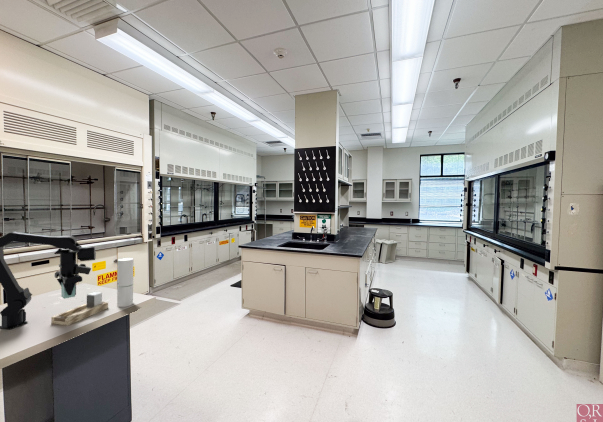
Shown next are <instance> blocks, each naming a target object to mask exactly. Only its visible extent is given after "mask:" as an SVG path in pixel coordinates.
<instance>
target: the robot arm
mask: <svg viewBox="0 0 603 422" xmlns="http://www.w3.org/2000/svg"><path fill="white" fill-rule="evenodd" d="M13 242H17V243H25V244H26V243H27V244H36V245H37V244H38V245H48V246H52V247H55V248H58V250H56V251H55V252H53V253H54V255H59V264H58V267H59V270H57V271H56V272H54V278H56V280H57V282H58V284H59V286H61V282H62V285H63V286H64V288H65V290H66V292H67V294H68V295H71V294H72V291H73V288H74V286H75V284H76V285H77V283H81V282H83V276H81V275H80V274H85V275H90V273H91V271H92V268H91V267H89V266H87V265H86V264H85V263H80V264H78V263H77V260H78V261H80V262H90V261H96V259H97V258H96V257H97V255H96V254H97V253H96V247H95V246H87V247H86V246H85V247H82V245H80V243H79V242H78V239H77V238H76V236H73V235H56V236H55V235H54V236H53V235H45V234H44V235H43V234H33V233H28V232H27V233H25V232H24V233H23V232H18V231H11V232H8V233H6V234H5V235H3V236H0V285H1V287H2V288H3V290H4V291H5V302H6V304H7V305H6V306H5V307H3V309H2V310H0V316H1V325H0V329H3V330H4V329H5V330H12V329H14V328H17V327H21V326H22V325H26V324H28V323H29V321H27V312H26V309H25V307H26V306H27V305H28V304H30V302H31V300H32V296H33V293H31V292H30V289H29V287H26V288H23V287H22V286H20V284H19V283H18V281H17V279H16V277H15V275H14V273H13V271H11V268H10V267H9V265H8V263H7V261H6V260H5V252H4V249H3V247H5V246H7V245H10V244H11V243H13Z"/></svg>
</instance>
